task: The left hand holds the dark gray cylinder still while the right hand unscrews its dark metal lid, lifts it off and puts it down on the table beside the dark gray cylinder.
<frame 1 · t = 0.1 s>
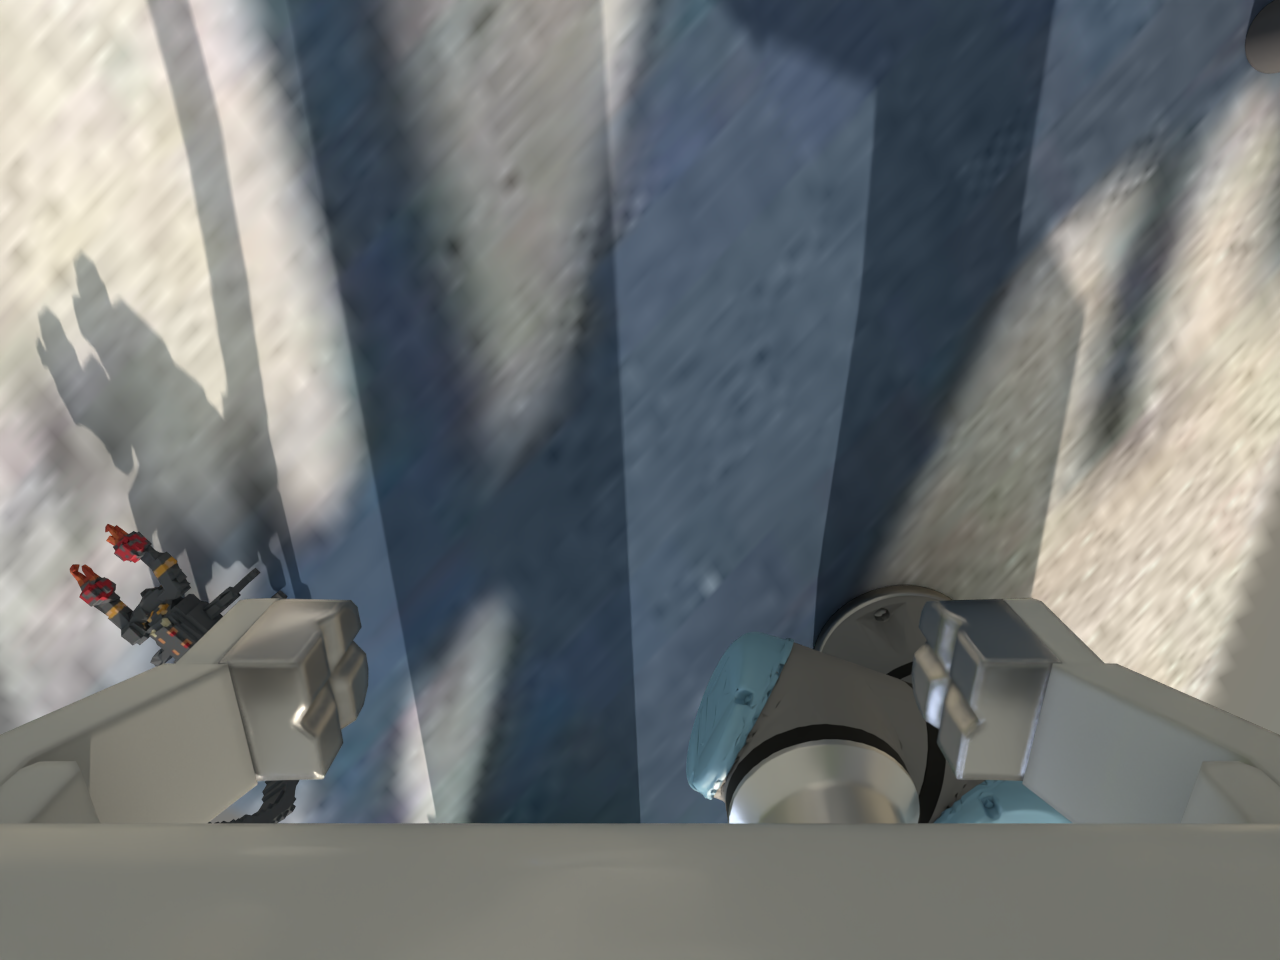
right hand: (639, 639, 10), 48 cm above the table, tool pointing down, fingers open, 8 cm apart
dark gray cylinder: (1279, 35, 49), on the table
toy: (231, 620, 66), on the table
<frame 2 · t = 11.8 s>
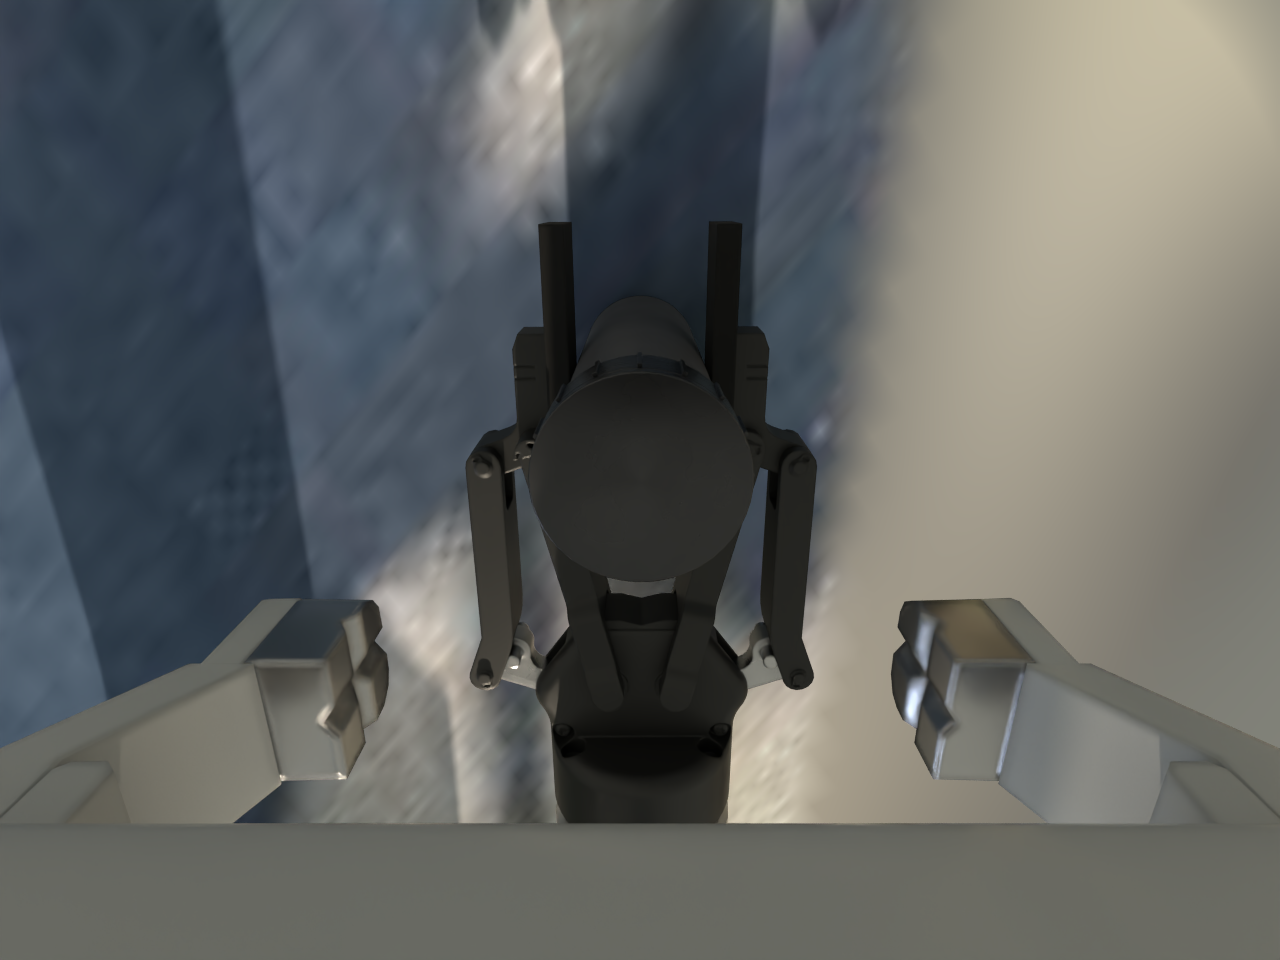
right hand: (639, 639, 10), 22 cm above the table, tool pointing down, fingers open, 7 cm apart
left hand: (640, 224, 23), fingers closed on dark gray cylinder, 5 cm apart
dark gray cylinder: (640, 350, 31), on the table, touching left hand
lid: (641, 477, 16), point 15 cm above the table, screwed on, not yet turned
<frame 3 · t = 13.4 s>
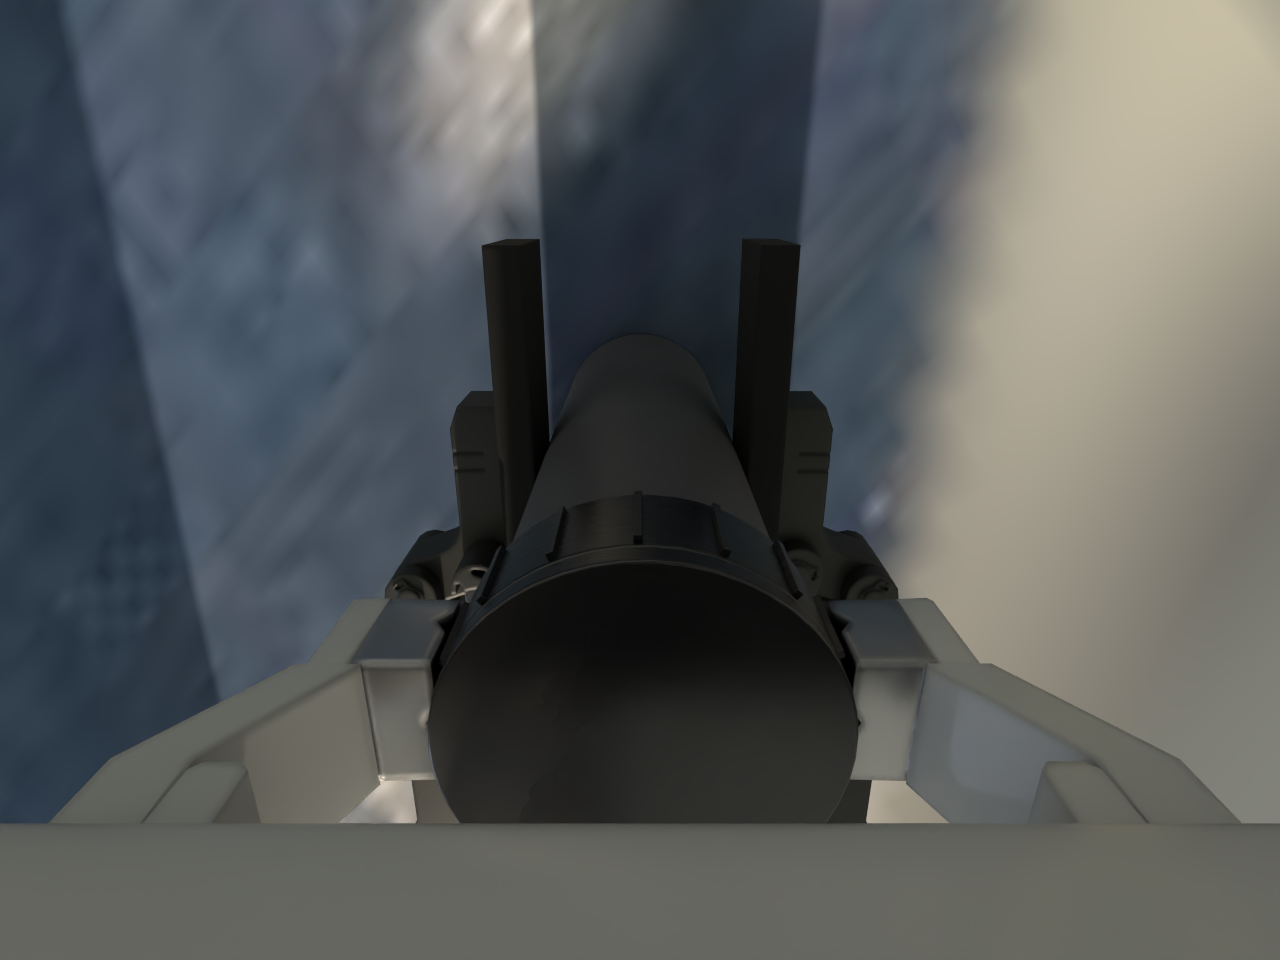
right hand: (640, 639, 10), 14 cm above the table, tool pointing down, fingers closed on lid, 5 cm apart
dark gray cylinder: (640, 405, 23), on the table, touching left hand
lid: (642, 731, 9), point 15 cm above the table, screwed on, not yet turned, touching right hand
when the right hand's fingers open (14 cm above the table, at t = 14.5 s): lid stays where it is, point 15 cm above the table.
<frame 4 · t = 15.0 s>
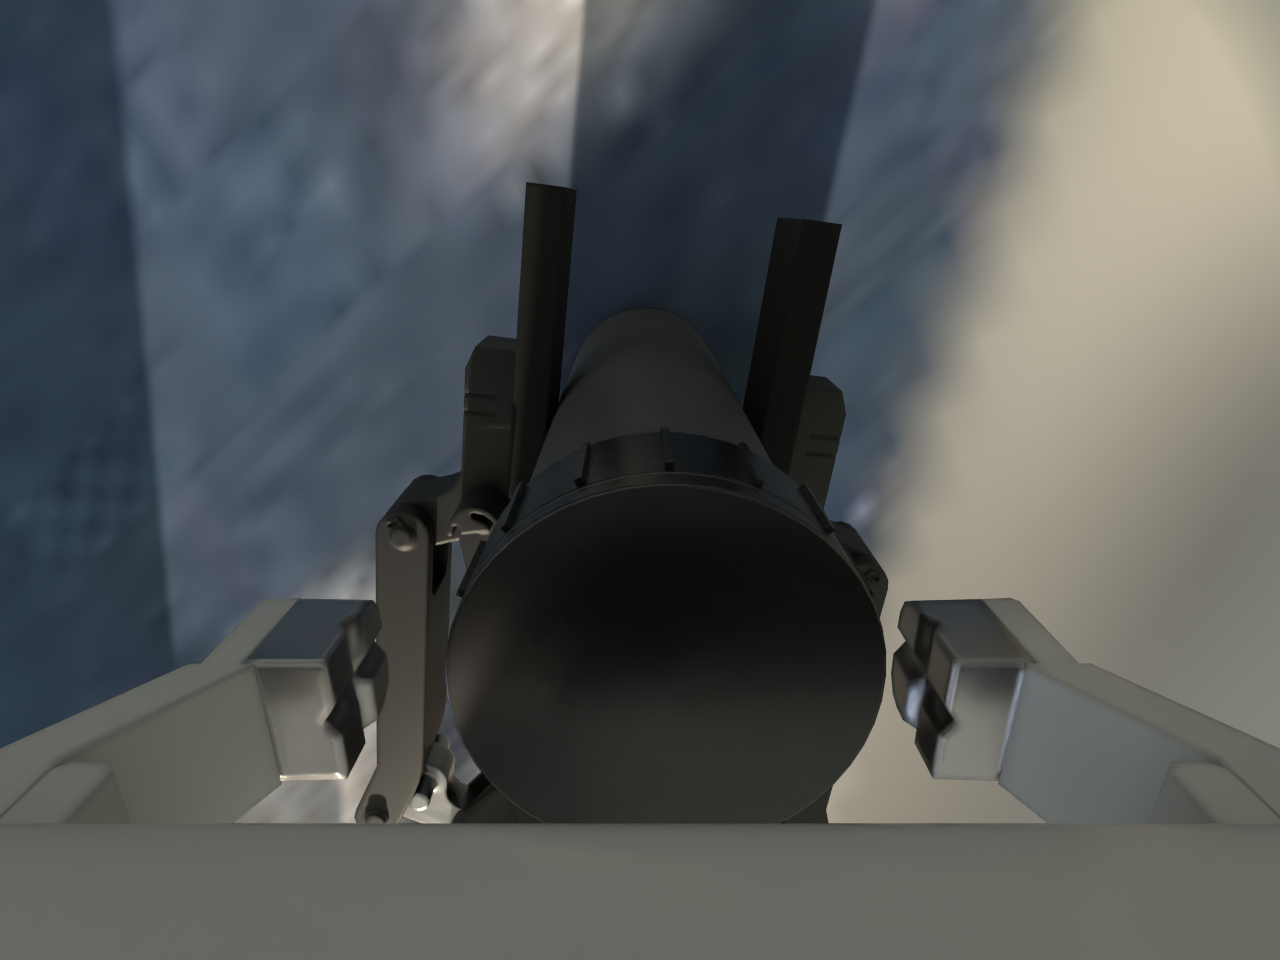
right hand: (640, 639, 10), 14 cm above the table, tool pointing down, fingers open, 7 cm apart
dark gray cylinder: (644, 380, 23), on the table, touching left hand
lid: (664, 670, 9), point 15 cm above the table, turned 51° so far, risen 0.1 cm, still on its thread
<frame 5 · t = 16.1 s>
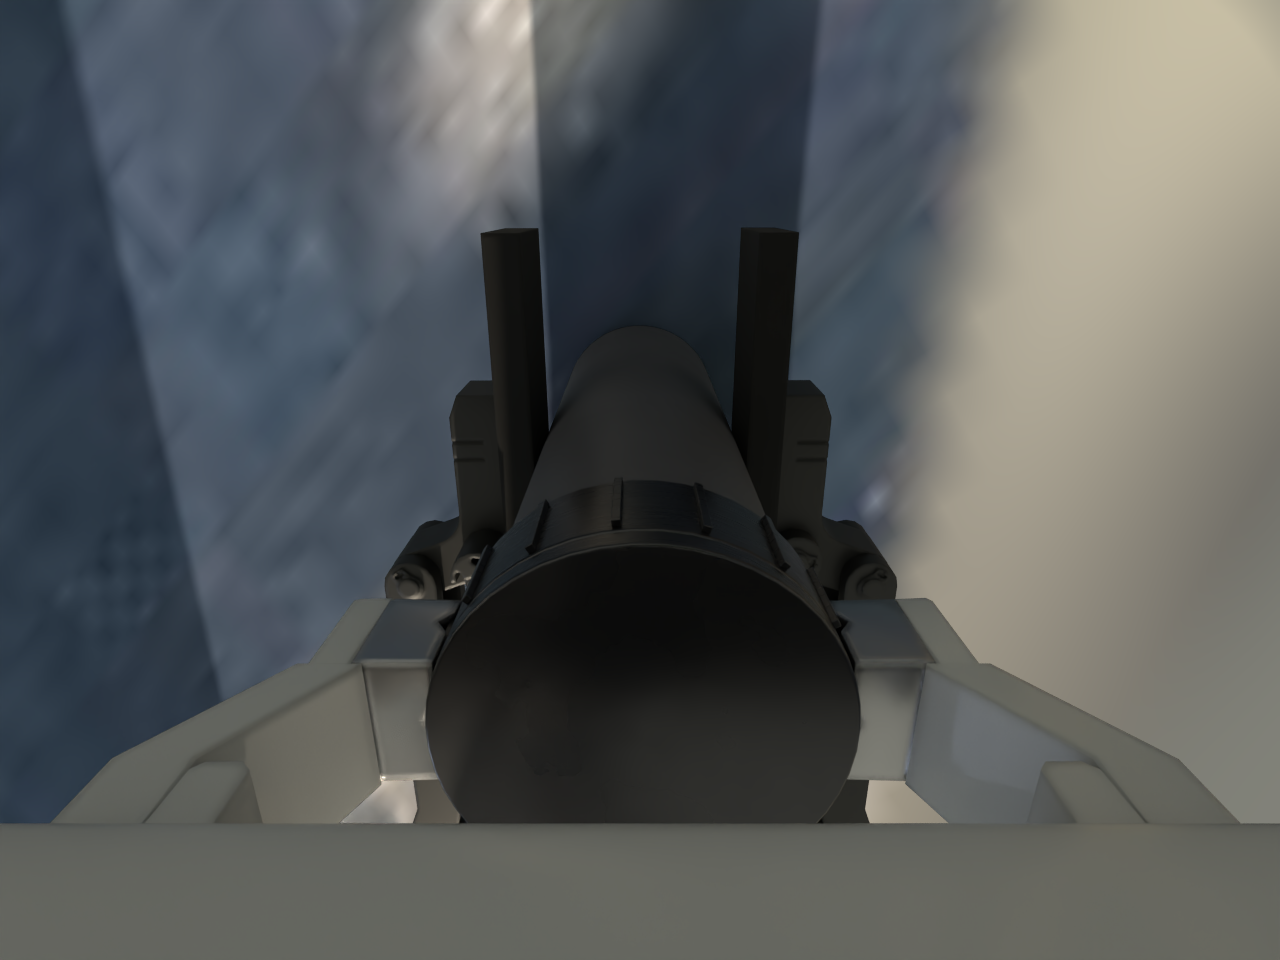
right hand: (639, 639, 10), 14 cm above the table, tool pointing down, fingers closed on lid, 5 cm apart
dark gray cylinder: (639, 397, 23), on the table, touching left hand
lid: (643, 719, 9), point 15 cm above the table, turned 51° so far, risen 0.1 cm, still on its thread, touching right hand
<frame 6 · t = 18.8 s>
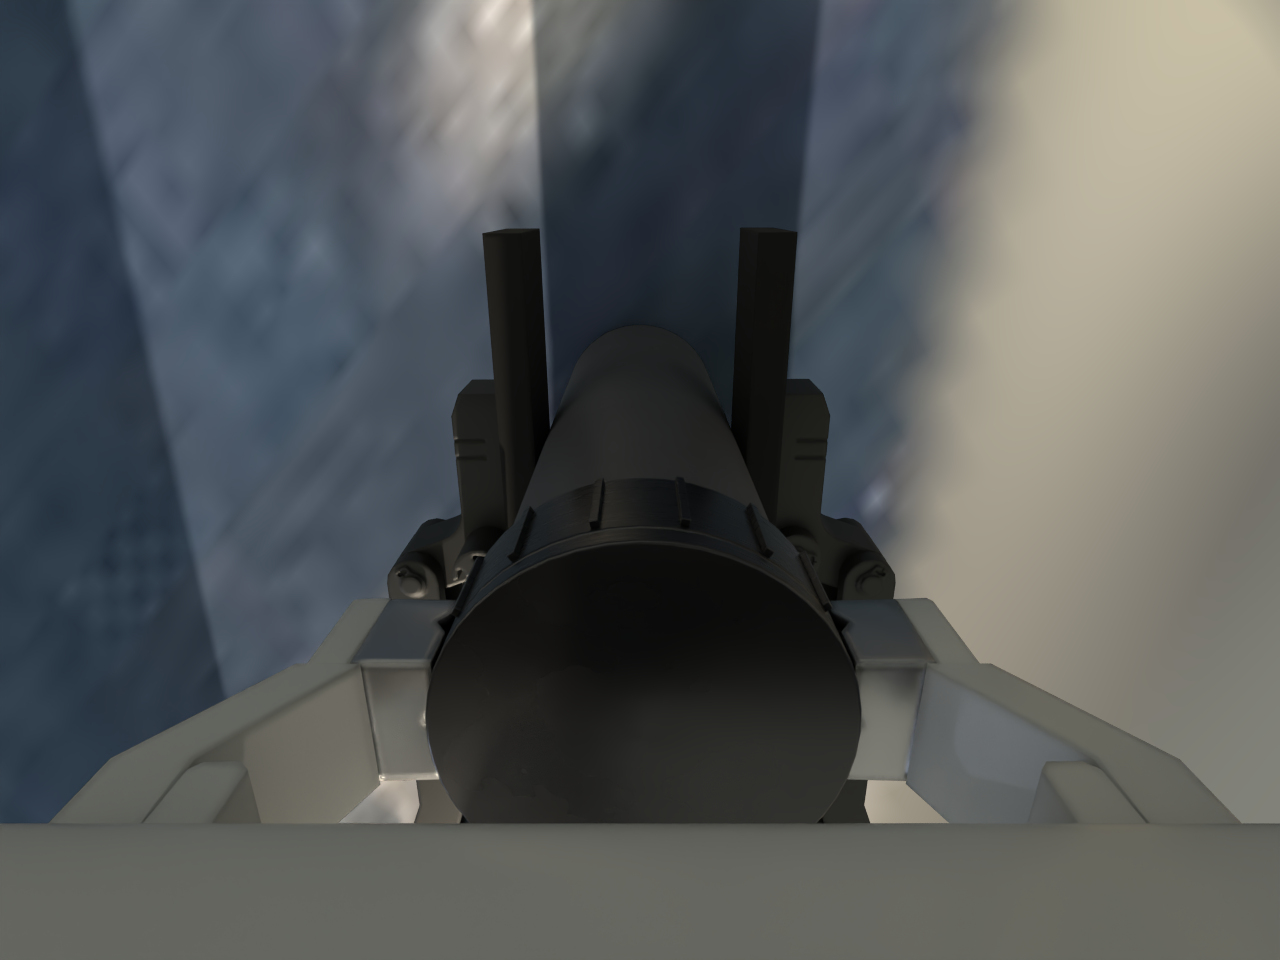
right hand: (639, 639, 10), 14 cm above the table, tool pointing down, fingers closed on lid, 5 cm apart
dark gray cylinder: (639, 396, 23), on the table, touching left hand
lid: (643, 717, 9), point 15 cm above the table, turned 102° so far, risen 0.3 cm, still on its thread, touching right hand
when the right hand's fingers open (2 cm above the table, at t = 24.2 s): lid drops 2 cm, point 2 cm above the table.
when the left hand's fingers open (7 cm above the table, at t = 25.0 s): dark gray cylinder stays where it is, on the table.
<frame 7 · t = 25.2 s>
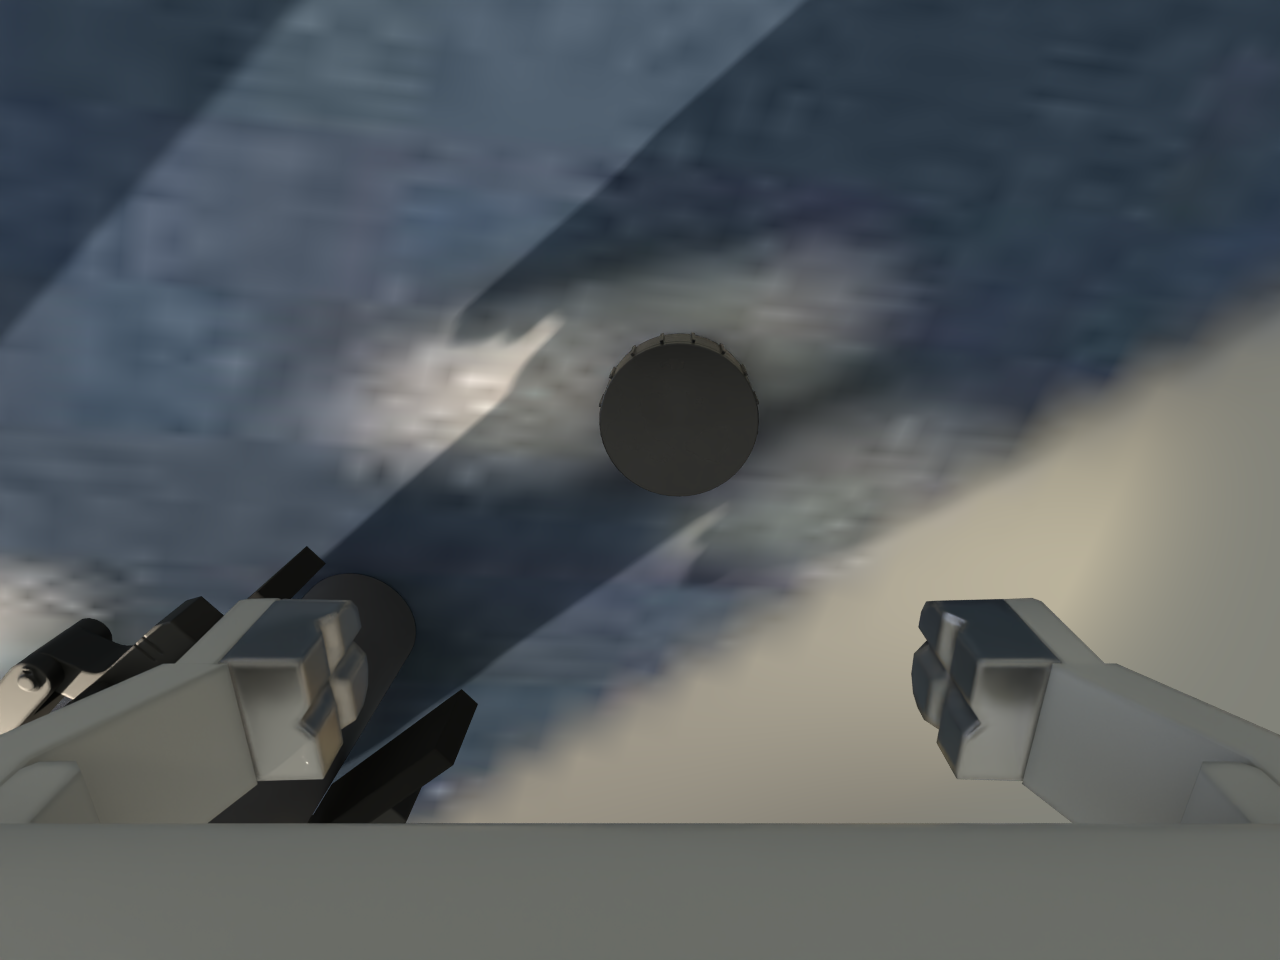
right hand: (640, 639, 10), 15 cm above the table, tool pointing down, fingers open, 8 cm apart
dark gray cylinder: (359, 623, 28), on the table
lid: (678, 420, 23), point 2 cm above the table, off its thread
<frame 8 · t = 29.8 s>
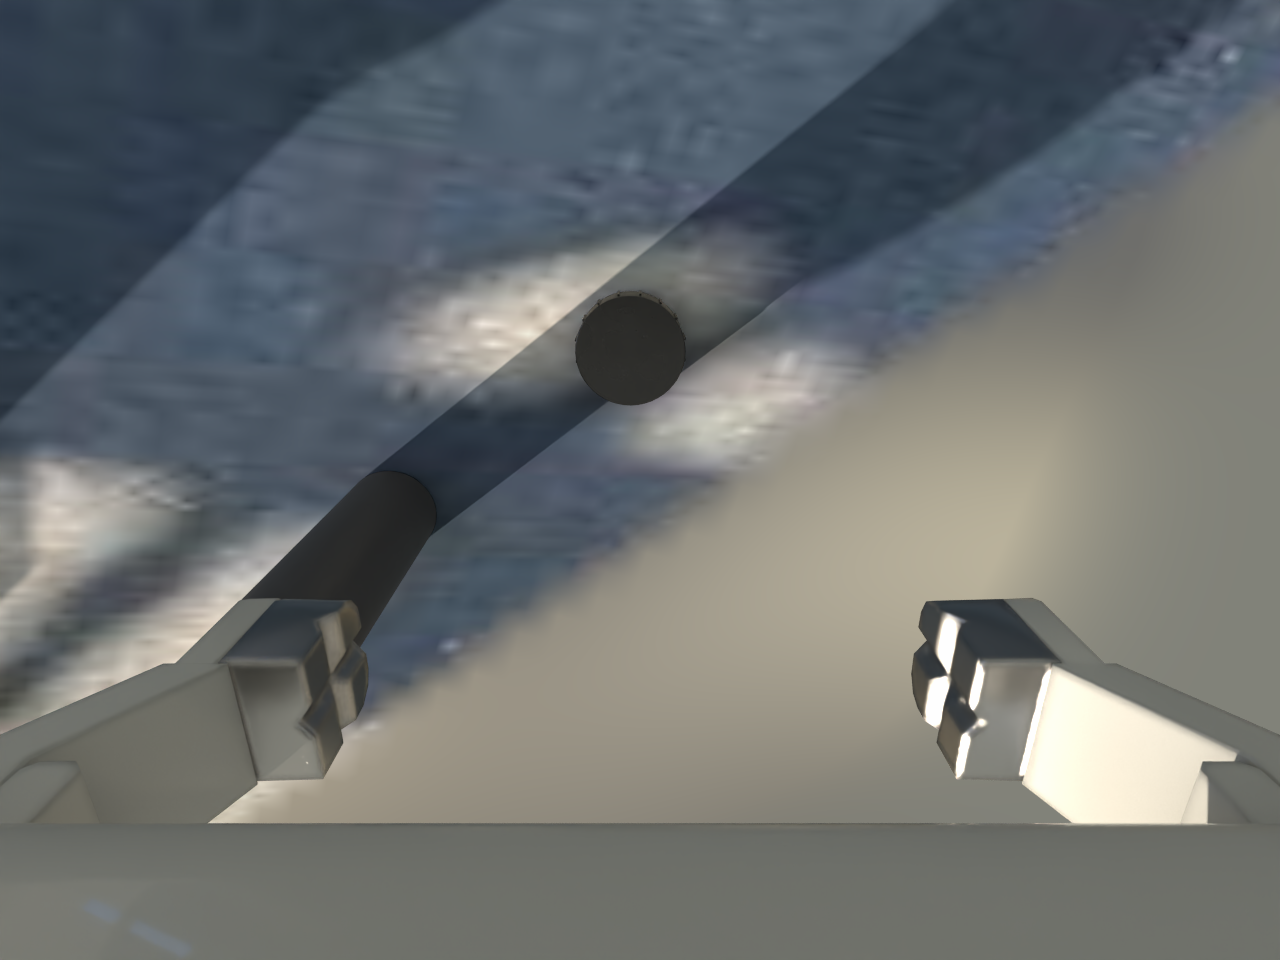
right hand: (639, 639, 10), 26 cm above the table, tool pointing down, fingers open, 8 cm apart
dark gray cylinder: (393, 510, 38), on the table
lid: (630, 350, 33), point 2 cm above the table, off its thread
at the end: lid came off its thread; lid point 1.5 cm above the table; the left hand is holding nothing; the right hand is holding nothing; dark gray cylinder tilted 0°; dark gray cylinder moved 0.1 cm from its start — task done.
